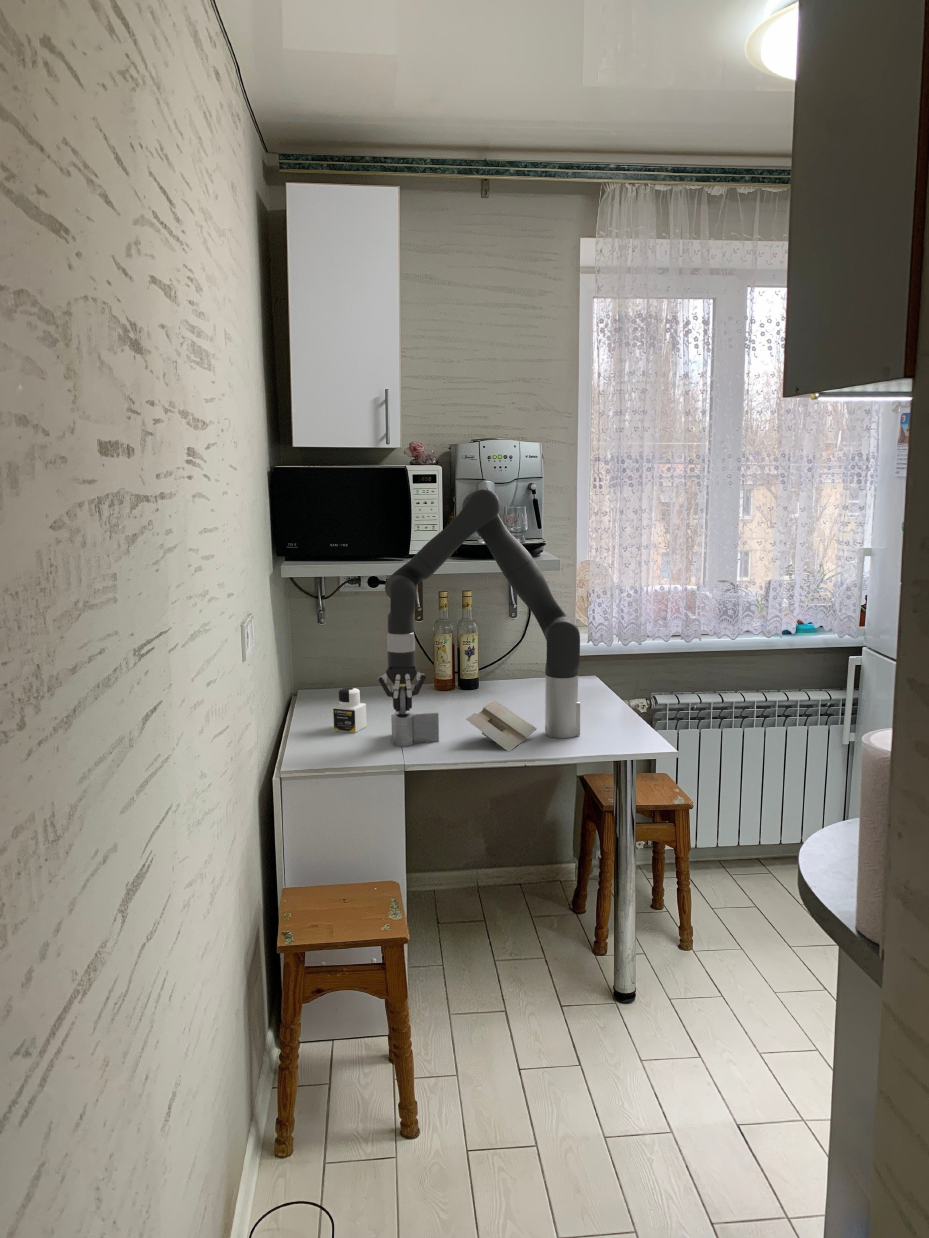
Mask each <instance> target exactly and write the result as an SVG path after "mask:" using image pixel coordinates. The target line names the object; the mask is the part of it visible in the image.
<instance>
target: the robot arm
mask: <svg viewBox="0 0 929 1238" xmlns="http://www.w3.org/2000/svg"><path fill="white" fill-rule="evenodd" d="M500 509H501V502H500V499H499V497H498V495H497V494H496V493H495V492H493V491H491V490H490V489H485V488H484V489H483V488H482V489H478V490H477V489H476V490H474V491H472V492H469V493H468V494H467V495H466V496H465V497H464V499H463V501H462V507H461V511H459V513H458V514H457V516H456V517H455V518H453V520H451V521H450V523H449V524H448V525H446V526H445V528H444V529H442V530H441V531H440V532H438V533H437V534H436V535H435V536H434V537H432V538H431V539H430V540H429V541H428V542H427V543H426V544H425V545H423V546H422V548H421V549H420V550H419V551H417V552H416V553H415V554H414V555H413V556H412V557H411V559H410V560H409V561H408V562H406V563H405V564H403V565H402V566H401V567H399V568H398V569H397V570H395V571H394V572H393V573H392V574H391V575H390V576H389V577H388V578H387V580H386V582H385V584H384V585H385V586H384V591H385V593H386V596H387V597H388V598H390V607H389V608H390V611H389V613H388V615H387V637H386V638H387V639H386V641H387V643H386V646H387V647H386V648H387V669H386V671H385V673H384V674H382V675H378V676H377V680H378V681H379V684H380V685H381V688H382V689H383V691H384V692H385V694H386V696H387V697H388V698H392V707H393V709H394V710H395V712H397V711H399V698H398V691H399V684H406V689H407V712H409V711H410V710H411V709H412V708H413V701H412V700H413V697H414V696H418V695H419V693H420V691H421V689H422V687H423V685H424V683H425V680H426V677H427V675H426V674H425V673H423V672H422V673H421V672H420V671H418V670H417V668H416V640H415V639H416V638H415V631H414V630H415V629H414V628H415V624H414V612H415V605H416V597H417V594H416V586H418V584H420V583H421V582H422V581H424V580H427V579H429V578H430V577H431V576H432V575H433V574H435V573H436V572H437V570H438V569H440V568H441V567H442V565H443V564H445V562H446V561H447V560H449V558H450V557H451V556H452V555H453V554H454V553H455V552H456V551H457V550H458V549H459V547H461V546H462V544H463V543H464V542H465V541H466V540H467V539H468V538H470V537H471V536H472V535H473V534H474V533H476V532H477V534H478V535H479V536H480V538H481V539H482V541H483V542H484V543H485V544H486V546H487V548H488V550H489V551H490V554H491V556H492V557H493V559H494V560H495V563H496V564H497V566H498V567H499V570H500V571H501V573H502V574H503V576H504V578H505V579H506V580H507V582H508V583H509V585H510V587H511V588H512V589H513V591H514V592H515V593H516V595H517V596H518V597H519V598H520V600H521V601H522V602H523V603H524V604H525V605H526V606H527V607H528V609H529V610H530V611H531V613H532V614H533V616H534V618H535V620H536V622H537V623H538V625H539V627H540V629H541V631H542V633H543V636H544V639H545V641H546V659H545V660H546V661H545V667H544V669H545V672H544V673H545V674H544V675H545V679H544V680H545V681H544V682H545V685H544V688H545V690H544V691H545V693H544V695H545V696H544V697H545V699H544V700H545V701H544V704H545V706H544V713H545V714H544V720H545V722H544V732H545V733H544V734H545V735H546V736H547V737H549V738H550V737H551V738H556V739H568V738H569V739H570V738H575V737H578V736H581V702H580V701H579V669H580V661H581V660H580V659H581V658H580V657H581V634H580V630H579V628H578V627H577V625H576V624H575V622H574V621H573V620H572V619H571V618H570V617H569V616H568V615H567V614H566V613H565V611H564V610H563V608H561V606H560V605H559V603H558V602H557V601H556V600H555V597H554V596H553V594H552V592H551V590H550V587H549V585H548V583H547V580H546V578H545V577H544V575H543V573H542V570H541V569H540V567H539V566H538V564H537V563H536V561H535V559H534V557H533V556H532V554H531V553H530V552H529V551H528V550H527V549H526V547H525V546H523V544H522V543H521V542H520V541H519V540H518V539H517V538H516V537H515V536H514V535H513V534H512V533H511V532H510V531H509V529H508V528H507V526H506V525H505V523H504V522H503V520H502V519H501V517H500V515H499V512H500ZM415 678H416V680H417V681H416V682H415V684H414V687H413V689H412V685H411V684H412V682H413V681H414V679H415ZM388 679H389V680H390V681H391V683H392V690H390V689H389V687H388V685H387V684H386V683H388Z"/></svg>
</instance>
